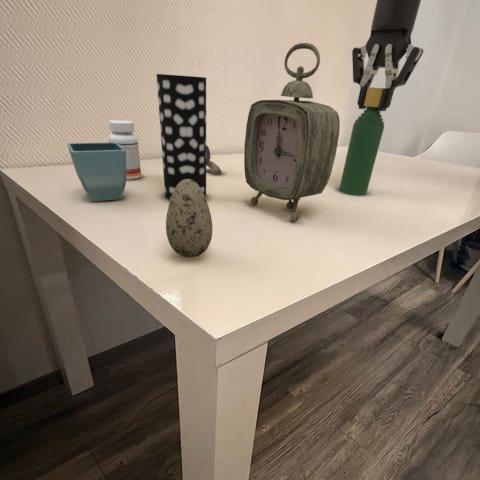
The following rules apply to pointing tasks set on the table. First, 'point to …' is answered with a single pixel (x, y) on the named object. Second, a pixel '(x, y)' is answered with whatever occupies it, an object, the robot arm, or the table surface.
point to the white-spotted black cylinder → (182, 129)
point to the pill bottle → (126, 146)
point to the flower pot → (100, 169)
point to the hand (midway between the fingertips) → (371, 109)
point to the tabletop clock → (291, 142)
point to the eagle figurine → (212, 163)
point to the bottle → (362, 152)
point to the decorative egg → (188, 220)
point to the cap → (373, 97)
